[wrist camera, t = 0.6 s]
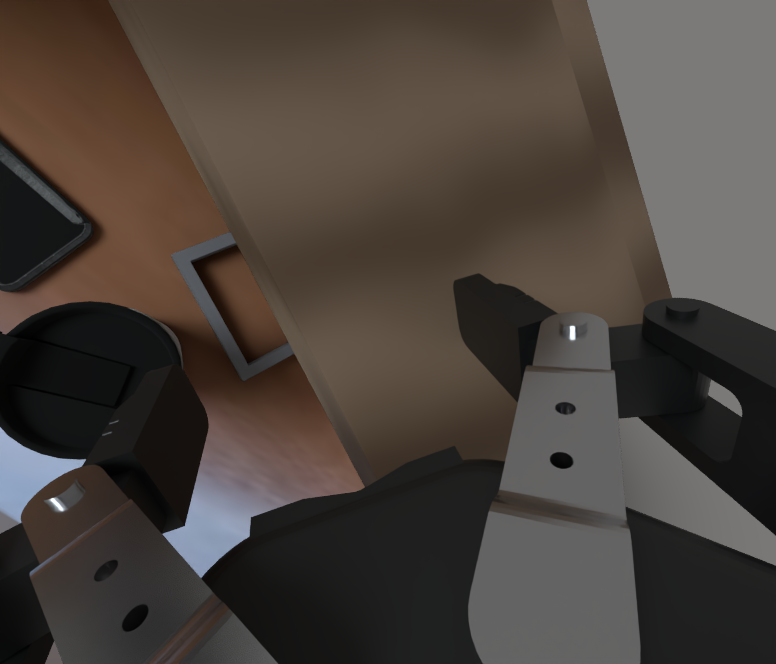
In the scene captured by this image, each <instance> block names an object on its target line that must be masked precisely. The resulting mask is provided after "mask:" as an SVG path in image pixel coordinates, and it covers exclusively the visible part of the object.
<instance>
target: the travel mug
mask: <svg viewBox="0 0 776 664" xmlns="http://www.w3.org/2000/svg"><path fill="white" fill-rule="evenodd" d="M173 364H178V365H179V366H181V367H182V369H184V368H183V360H182V352H181V346H180V343H179V341H178V338H177V337H176V335H175V334H174V332H173V331H172V330H171V329H170V328H169V327H167V326H166V325H164V324H163V323H161V322H159V321H157V320H156V319H154V318H152V317H150V316H148V315H146V314H143V313H141V312H139V311H137V310H134V309H130V308H127V307H123V306H119V305H115V304H111V303H103V302H91V301H89V302H76V303H68V304H64V305H59V306H55V307H51V308H49V309H46V310H44V311H42V312H39V313H37V314H34V315H32V316H31V317H29V318H27V319H26V320H24V321H23V322H21V323H20V324H18V325H17V326H16V327H15V328H14V329H12V330H11V331H10V332H9V333H8V334H6V335H5V334H2V332H0V427H1V428H2V429H3V430H4V431H5V433H6V434H7V435H8V436H10V437H11V438H12V439H14V440H15V441H17V442H18V443H20V444H21V445H22V446H24V447H26V448H29V449H31V450H33V451H36V452H38V453H40V454H44V455H48V456H52V457H57V458H63V459H79V460H80V459H87V457H88V456H89V454H90V452H91V451H92V449H93V448H94V446H95V444H96V443H97V441H98V439H99V438H100V437H101V436H102V433H103V431H104V429H105V428H106V426H107V425H109V421H110V419H111V418H112V416H113V414H114V413H115V411H116V409H117V408H118V407H120V406H121V405H122V404H123V403H124V402H125V401H126V400H127V399H128V398H129V397H130V396H131V395H134V393H135V391H136V389H137V388H138V386H139V384H140V382H141V381H142V379H143V377H144V375H145V374H146V373H147V372H149V371H153V370H156V369H159V368H163V367H166V366H169V365H173Z"/></svg>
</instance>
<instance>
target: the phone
mask: <svg viewBox="0 0 776 664" xmlns="http://www.w3.org/2000/svg"><path fill="white" fill-rule="evenodd" d="M92 234H93V227H92V224H91V222H90V221H89V220H88V219H87V218H86V217H85V216H84V215H83V214H82V213H81V212H80V211H79V210H78V209H77V208H76V207H74V206H73V205H72V204H71V203H70V202H69V201H68V200H67V199H66V198H65V197H63V196H62V195H61V194H60V193H59V192H58V191H57V190H56V189H55V188H54V187H52V186H51V185H50V184H49V183H48V182H47V181H46V180H45V179H44V178H43V177H41V176H40V175H39V174H38V173H37V172H36V171H35V170H34V169H33V168H32V167H30V166H29V165H28V164H27V163H26V162H25V161H24V160H23V159H22V158H21V157H19V156H18V155H17V154H16V153H15V152H14V151H13V150H12V149H11V148H10V147H8V146H7V145H6V144H5V143H4V142H3V141H2V140H1V139H0V290H2V291H6V292H14V291H18V290H20V289H22V288H24V287H26V286H27V285H28V284H30V283H31V282H32V281H34V280H35V279H36V278H38V277H39V276H41V275H42V274H43V273H45V272H46V271H47V270H49V269H50V268H51V267H53V266H54V265H55V264H57V263H58V262H60V261H61V260H62V259H64V258H65V257H66V256H68V255H69V254H70V253H72V252H73V251H75V250H76V249H77V248H79V247H80V246H81V245H83V244H84V243H85V242H87V241H88V240H89V239H90V238H91V237H92ZM30 281H31V282H30Z"/></svg>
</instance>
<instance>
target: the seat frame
mask: <svg viewBox="0 0 776 664" xmlns="http://www.w3.org/2000/svg"><path fill="white" fill-rule="evenodd" d="M235 245H237V244H236V242H235V240H234V238H233V236H232V234H231V232H229V233H226V234H223V235H221V236H218V237H216V238H213V239H210V240H208V241H205V242H202V243H200V244H197V245H195V246H192V247H189V248H187V249H184V250H182V251H179V252H176V253H174V254H171V256H172V259H173V261H174V262H175V264H176V266H177V268H178V269H179V271H180V273H181V275H182V276H183V278H184V280H185V282H186V283H187V285H188V287H189V289H190V291H191V292H192V294H193V296H194V298H195V299H196V301H197V303H198V305H199V306H200V308H201V310H202V312H203V313H204V315H205V317H206V319H207V320H208V322H209V324H210V326H211V327H212V329H213V331H214V333H215V334H216V336H217V338H218V340H219V341H220V343H221V345H222V347H223V348H224V350H225V352H226V354H227V355H228V357H229V359H230V361H231V362H232V364H233V366H234V368H235V370H236V371H237V373H238V375H239V377H240V378H241V380H242V381H246V380H247V379H249V378H251V377H253V376H255V375H256V374H258V373H260V372H262V371H264V370H265V369H267V368H269V367H271V366H273V365H275V364H276V363H278V362H280V361H282V360H284V359H285V358H287V357H289V356H291V355H293V354H294V352H293V350H292V348H291V346H290V344H289V342H288V343H286V344H284V345H282V346H280V347H278V348H276V349H275V350H273V351H271V352H269V353H267V354H265V355H263V356H262V357H260V358H258V359H256V360H254V361H252V362H250V363H248V364H247V362H246V360H245V358H244V357H243V355H242V353H241V351H240V349H239V348H238V346H237V344H236V342H235V341H234V339H233V337H232V335H231V333H230V332H229V330H228V328H227V326H226V324H225V323H224V321H223V319H222V317H221V316H220V314H219V312H218V310H217V308H216V307H215V305H214V303H213V301H212V300H211V298H210V296H209V294H208V292H207V291H206V289H205V287H204V285H203V283H202V282H201V280H200V278H199V276H198V275H197V273H196V271H195V269H194V267H193V266H192V264H191V263H193V262H195V261H198V260H200V259H203V258H205V257H208V256H210V255H213V254H215V253H218V252H220V251H223V250H225V249H228V248H230V247H233V246H235Z"/></svg>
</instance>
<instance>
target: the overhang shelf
mask: <svg viewBox="0 0 776 664" xmlns="http://www.w3.org/2000/svg"><path fill="white" fill-rule="evenodd" d="M108 1H109V3H110V5H111V7H112V9H113V11H114V13H115V15H116V17H117V18H118V20H119V22H120V24H121V26H122V28H123V30H124V32H125V34H126V35H127V37H128V39H129V41H130V43H131V45H132V47H133V49H134V51H135V53H136V54H137V56H138V58H139V60H140V62H141V64H142V66H143V68H144V70H145V71H146V73H147V75H148V77H149V79H150V81H151V83H152V85H153V87H154V88H155V90H156V92H157V94H158V96H159V98H160V100H161V102H162V104H163V106H164V107H165V109H166V111H167V113H168V115H169V117H170V119H171V121H172V123H173V124H174V126H175V128H176V130H177V132H178V134H179V136H180V138H181V140H182V142H183V143H184V145H185V147H186V149H187V151H188V153H189V155H190V157H191V159H192V160H193V162H194V164H195V166H196V168H197V170H198V172H199V174H200V176H201V177H202V179H203V181H204V183H205V185H206V187H207V189H208V191H209V193H210V195H211V196H212V198H213V200H214V202H215V204H216V206H217V208H218V210H219V212H220V213H221V215H222V217H223V219H224V221H225V223H226V225H227V227H228V229H229V231H230V232H231V234H232V236H233V238H234V240H235V242H236V244H237V246H238V248H239V249H240V251H241V253H242V255H243V257H244V259H245V261H246V263H247V265H248V266H249V268H250V270H251V272H252V274H253V276H254V278H255V280H256V282H257V284H258V285H259V287H260V289H261V291H262V293H263V295H264V297H265V299H266V301H267V302H268V304H269V306H270V308H271V310H272V312H273V314H274V316H275V318H276V320H277V321H278V323H279V325H280V327H281V329H282V331H283V333H284V335H285V337H286V338H287V340H288V342H289V344H290V346H291V348H292V350H293V352H294V354H295V355H296V357H297V359H298V361H299V363H300V365H301V367H302V369H303V371H304V373H305V374H306V376H307V378H308V380H309V382H310V384H311V386H312V388H313V390H314V391H315V393H316V395H317V397H318V399H319V401H320V403H321V405H322V407H323V409H324V410H325V412H326V414H327V416H328V418H329V420H330V422H331V424H332V426H333V427H334V429H335V431H336V433H337V435H338V437H339V439H340V441H341V443H342V444H343V446H344V448H345V450H346V452H347V454H348V456H349V458H350V460H351V462H352V463H353V465H354V467H355V469H356V471H357V473H358V475H359V477H360V479H361V480H362V482H363V484H364V486H365V487H367V486H369V485H370V484H372V483H374V482H375V481H377V480H379V479H380V478H382V477H384V476H385V475H387V474H389V473H390V472H392V471H394V470H395V469H397V468H399V467H400V466H402V465H404V464H405V463H407V462H410V461H413V460H415V459H418V458H421V457H424V456H427V455H430V454H432V453H435V452H438V451H441V450H444V449H447V448H449V447H452V446H455V447H456V449H457V451H458V452H459V454H460V456H461V458H462V459H463V460H467V459H493V460H500V461H505V460H506V456H507V451H508V446H509V442H510V437H511V433H512V428H513V423H514V419H515V414H516V409H517V405H518V403H517V402H516V400H515V399H514V398H513V397H512V396H511V395H510V394H509V393H508V392H507V391H506V389H505V388H504V387H503V386H502V385H501V384H500V383H499V382H498V381H497V379H496V378H495V377H494V376H493V375H492V374H491V373H490V372H489V371H488V370H487V368H486V367H485V366H484V365H483V364H482V363H481V362H480V361H479V360H478V359H477V357H476V356H475V355H474V354H473V353H472V352H471V351H470V350H469V349H468V347H467V346H466V345H465V343H464V341H463V339H462V337H461V333H460V329H459V324H458V318H457V311H456V304H455V297H454V290H453V283H454V281H455V280H457V279H460V278H464V277H467V276H470V275H474V274H477V273H480V274H481V275H483V276H484V277H486V278H487V279H489V280H490V281H492V282H493V283H495V284H499V283H501V284H505V285H510V286H514V287H516V288H518V289H520V290H521V291H523V292H524V293H526V295H529V296H531V297H532V298H534V300H537V301H539V302H540V303H542V304H544V305H545V306H547V307H549V308H550V309H552V310H553V311H555V312H557V313H558V314H559V313H565V312H583V313H589V314H593V315H596V316H598V317H600V318H602V319H603V320H605V321H606V323H607V324H608V327H618V326H626V325H634V324H642V321H643V311H644V308H645V307H646V306H647V305H648V304H650V303H652V302H654V301H657V300H661V299H668V298H672V296H671V292H670V289H669V285H668V282H667V278H666V275H665V271H664V268H663V264H662V261H661V258H660V254H659V250H658V247H657V243H656V240H655V236H654V233H653V229H652V226H651V223H650V219H649V216H648V212H647V209H646V205H645V202H644V198H643V195H642V191H641V188H640V184H639V181H638V177H637V174H636V170H635V167H634V164H633V160H632V156H631V153H630V150H629V146H628V143H627V139H626V136H625V132H624V129H623V125H622V122H621V119H620V115H619V111H618V108H617V105H616V101H615V98H614V94H613V90H612V87H611V84H610V80H609V77H608V73H607V70H606V66H605V63H604V59H603V56H602V52H601V49H600V45H599V42H598V38H597V35H596V31H595V28H594V24H593V21H592V17H591V14H590V10H589V8H588V4H587V0H108Z"/></svg>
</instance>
